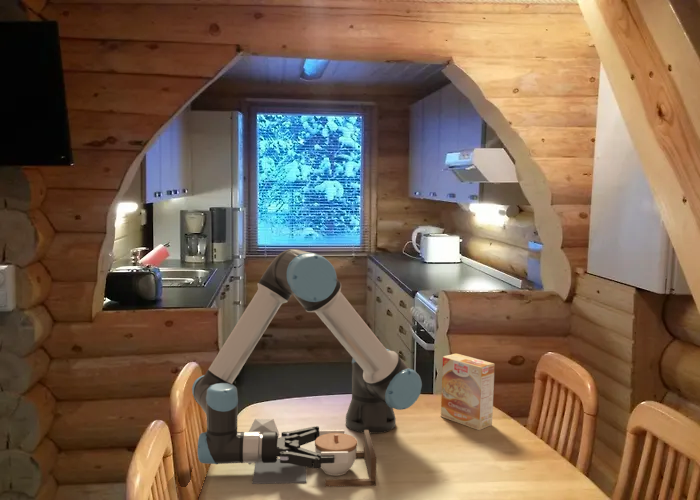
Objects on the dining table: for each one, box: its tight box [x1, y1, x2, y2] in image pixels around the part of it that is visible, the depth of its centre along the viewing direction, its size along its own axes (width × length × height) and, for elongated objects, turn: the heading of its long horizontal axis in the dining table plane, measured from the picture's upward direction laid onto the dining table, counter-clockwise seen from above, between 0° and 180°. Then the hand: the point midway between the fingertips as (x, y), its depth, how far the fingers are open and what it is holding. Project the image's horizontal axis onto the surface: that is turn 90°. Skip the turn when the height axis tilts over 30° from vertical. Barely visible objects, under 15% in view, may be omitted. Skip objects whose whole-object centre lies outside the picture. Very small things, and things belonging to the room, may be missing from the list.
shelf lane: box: [324, 430, 377, 488], centre depth 161 cm, size 12×17×7 cm
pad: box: [252, 458, 307, 485], centre depth 160 cm, size 13×13×1 cm
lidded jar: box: [314, 433, 358, 477], centre depth 161 cm, size 11×11×9 cm
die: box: [248, 418, 280, 437], centre depth 174 cm, size 8×9×10 cm
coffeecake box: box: [440, 353, 496, 431], centre depth 196 cm, size 15×7×20 cm, turn 42°
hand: (346, 445), depth 161 cm, fingers open, 13 cm apart
